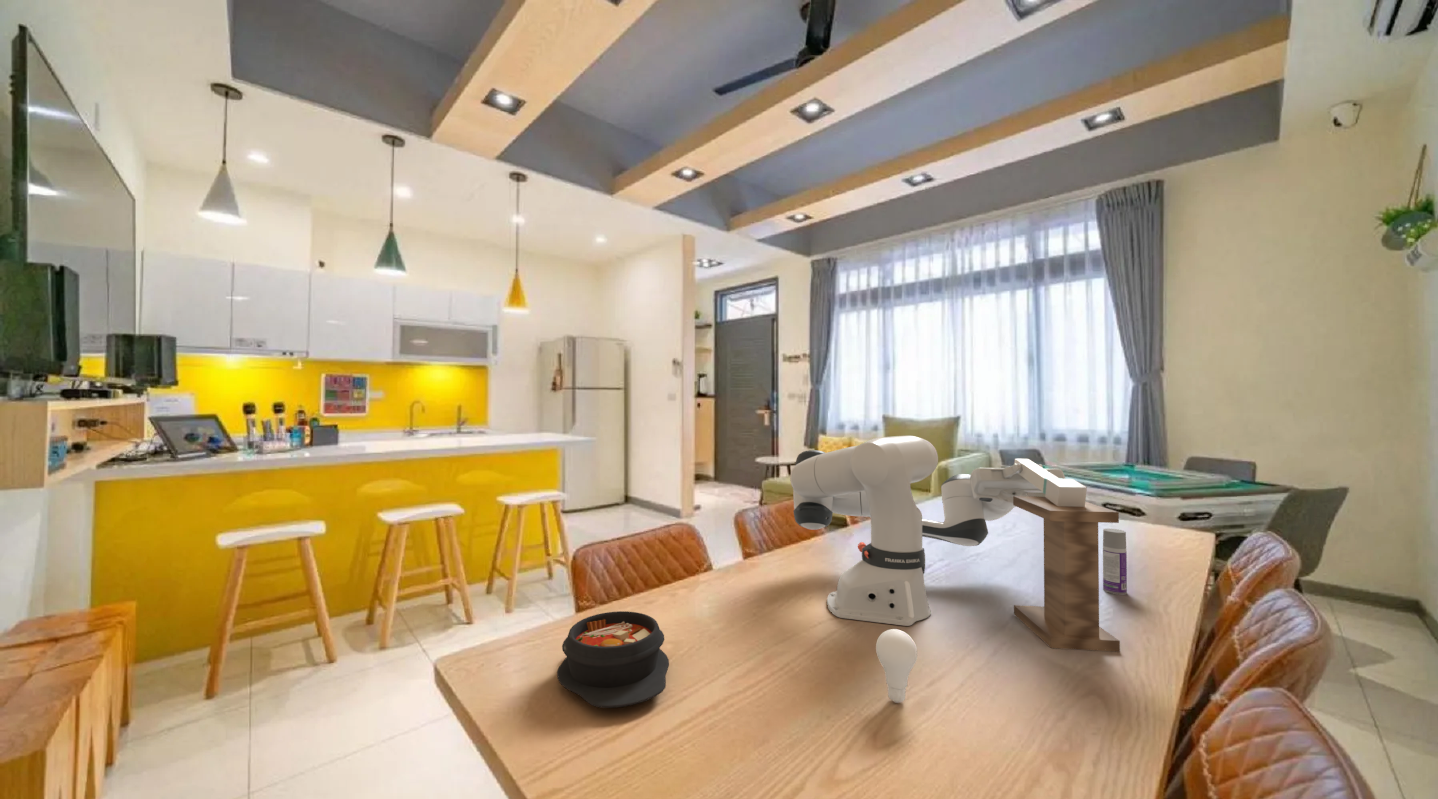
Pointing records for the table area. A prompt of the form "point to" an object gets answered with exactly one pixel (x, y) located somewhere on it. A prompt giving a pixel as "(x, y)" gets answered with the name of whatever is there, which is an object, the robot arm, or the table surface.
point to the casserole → (614, 659)
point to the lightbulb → (896, 660)
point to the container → (1114, 561)
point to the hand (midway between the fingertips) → (1029, 466)
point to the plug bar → (1053, 485)
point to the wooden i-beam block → (1069, 576)
